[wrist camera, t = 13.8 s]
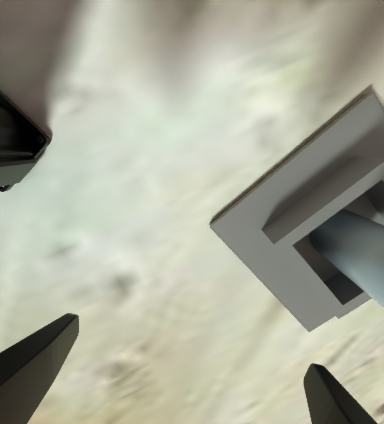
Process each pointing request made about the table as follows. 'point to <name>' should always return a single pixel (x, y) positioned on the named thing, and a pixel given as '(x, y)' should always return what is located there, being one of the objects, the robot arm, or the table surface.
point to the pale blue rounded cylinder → (354, 249)
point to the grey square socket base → (311, 214)
